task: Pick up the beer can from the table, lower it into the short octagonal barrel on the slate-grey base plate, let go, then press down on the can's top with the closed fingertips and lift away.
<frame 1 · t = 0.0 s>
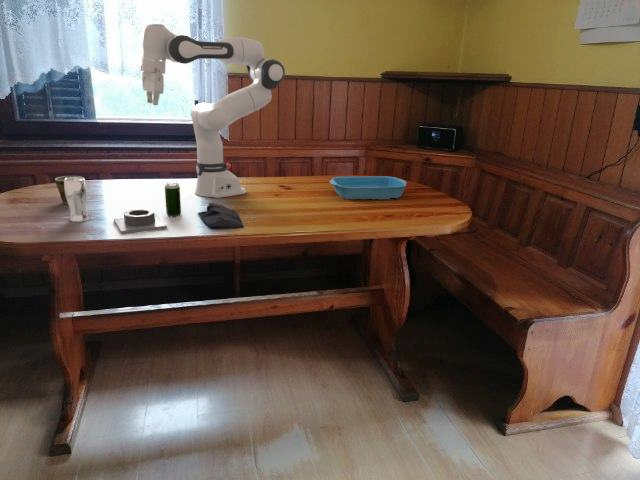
hand: (152, 104, 194), 39 cm above the table, tool pointing down, fingers open, 8 cm apart
casserole dish: (367, 195, 228), on the table
ceramic cup: (69, 202, 195), on the table
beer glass: (79, 220, 175), on the table
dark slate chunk: (220, 222, 182), on the table
beer can: (173, 215, 185), on the table
barrel holder: (140, 225, 172), on the table
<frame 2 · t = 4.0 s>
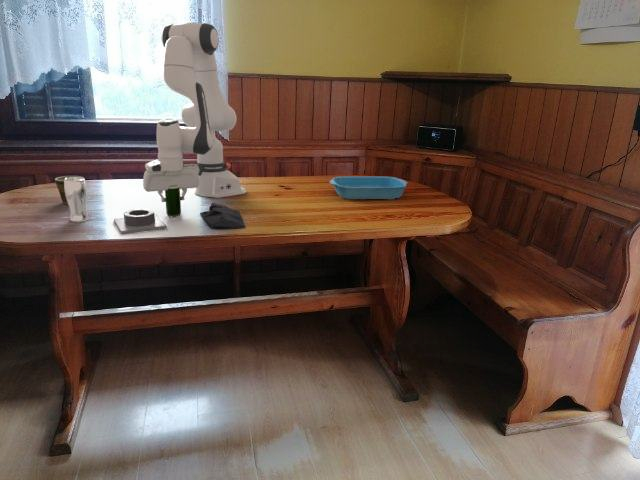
hand: (173, 200, 183), 6 cm above the table, tool pointing down, fingers closed on beer can, 5 cm apart
beer can: (173, 215, 185), on the table, touching gripper
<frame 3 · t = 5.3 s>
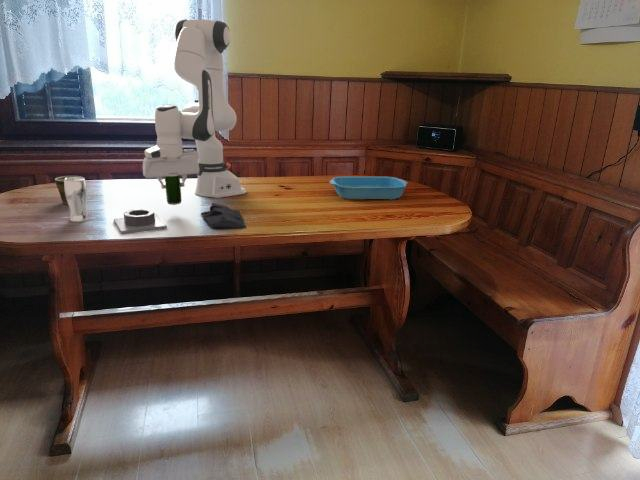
hand: (173, 187, 182), 11 cm above the table, tool pointing down, fingers closed on beer can, 5 cm apart
beer can: (174, 203, 184), point 4 cm above the table, touching gripper
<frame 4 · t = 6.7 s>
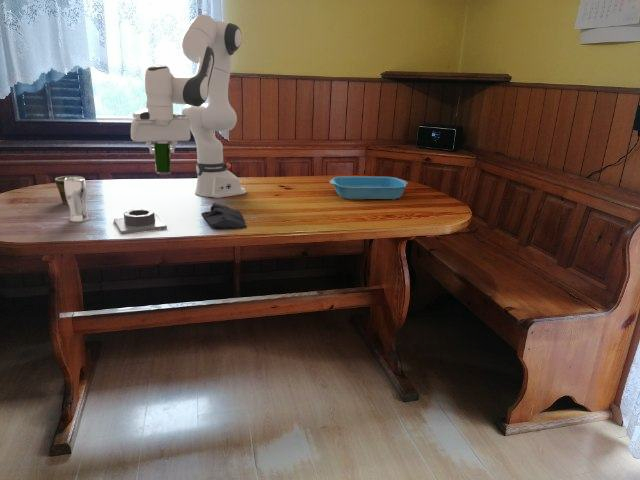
hand: (162, 153, 174), 24 cm above the table, tool pointing down, fingers closed on beer can, 5 cm apart
beer can: (163, 173, 176), point 17 cm above the table, touching gripper
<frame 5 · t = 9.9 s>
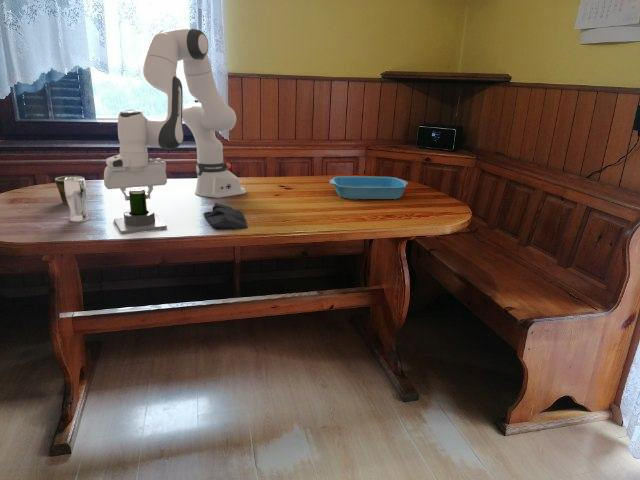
hand: (137, 199, 168), 10 cm above the table, tool pointing down, fingers closed on beer can, 5 cm apart
beer can: (139, 222, 171), point 1 cm above the table, touching barrel holder, gripper
when the fingers open (8 cm above the table, at t = 11.3 s): beer can stays where it is, resting on barrel holder.
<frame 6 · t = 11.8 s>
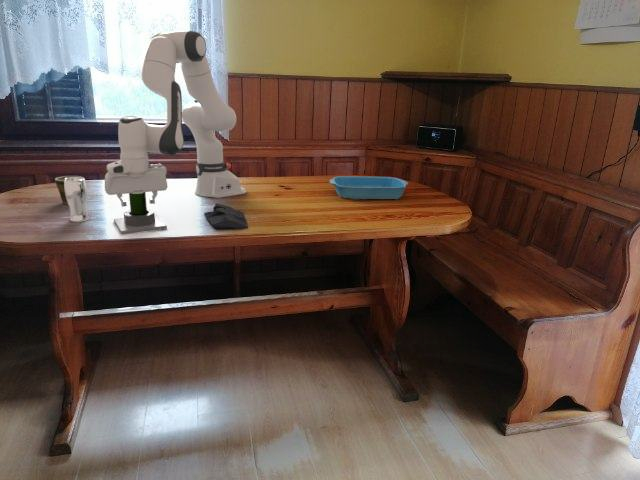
hand: (138, 204, 169), 8 cm above the table, tool pointing down, fingers open, 8 cm apart
beer can: (139, 222, 171), point 1 cm above the table, touching barrel holder
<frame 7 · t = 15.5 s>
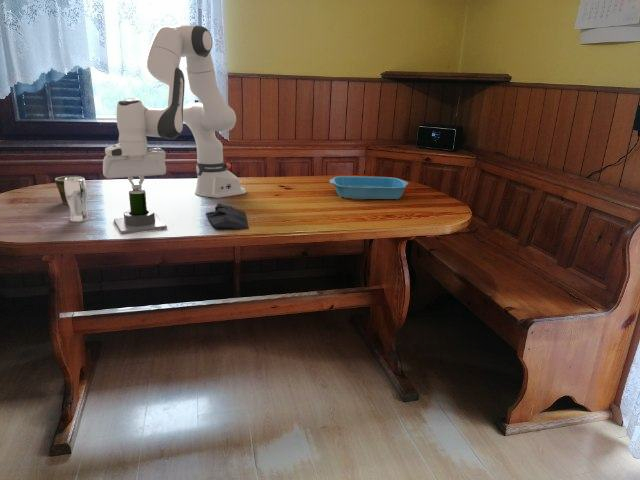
hand: (136, 189, 167), 13 cm above the table, tool pointing down, fingers closed, pressing on beer can
beer can: (139, 222, 171), point 1 cm above the table, touching barrel holder, gripper
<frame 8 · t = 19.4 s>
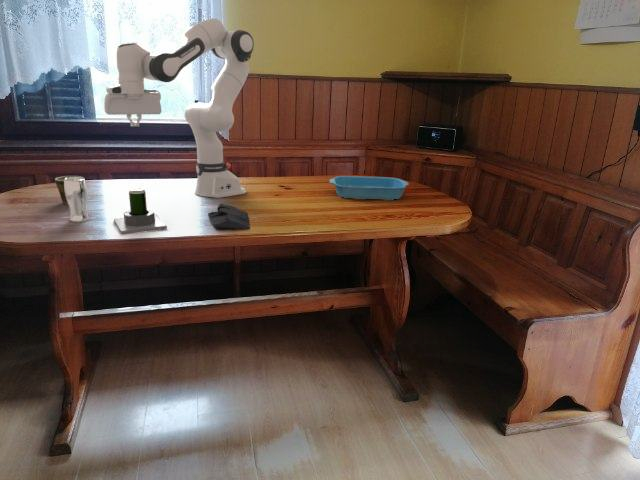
hand: (135, 126, 186), 31 cm above the table, tool pointing down, fingers closed
beer can: (139, 222, 171), point 1 cm above the table, touching barrel holder
at the end: beer can 0.1 cm off-centre on the barrel holder, point 1.3 cm above the barrel holder's base; beer can tilted 0°; the gripper is holding nothing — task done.
